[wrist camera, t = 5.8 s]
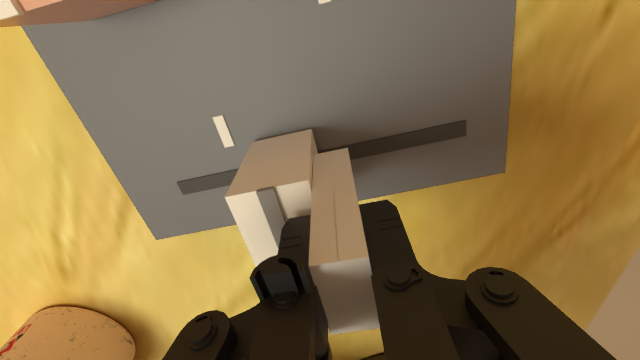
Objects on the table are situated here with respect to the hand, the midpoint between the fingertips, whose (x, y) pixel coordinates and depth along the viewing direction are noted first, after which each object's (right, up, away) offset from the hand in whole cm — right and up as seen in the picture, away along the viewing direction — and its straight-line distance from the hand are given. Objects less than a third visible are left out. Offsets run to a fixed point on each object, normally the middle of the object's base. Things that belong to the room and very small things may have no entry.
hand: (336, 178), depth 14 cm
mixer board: (-3, +6, +2) cm, 7 cm away
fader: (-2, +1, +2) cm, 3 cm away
